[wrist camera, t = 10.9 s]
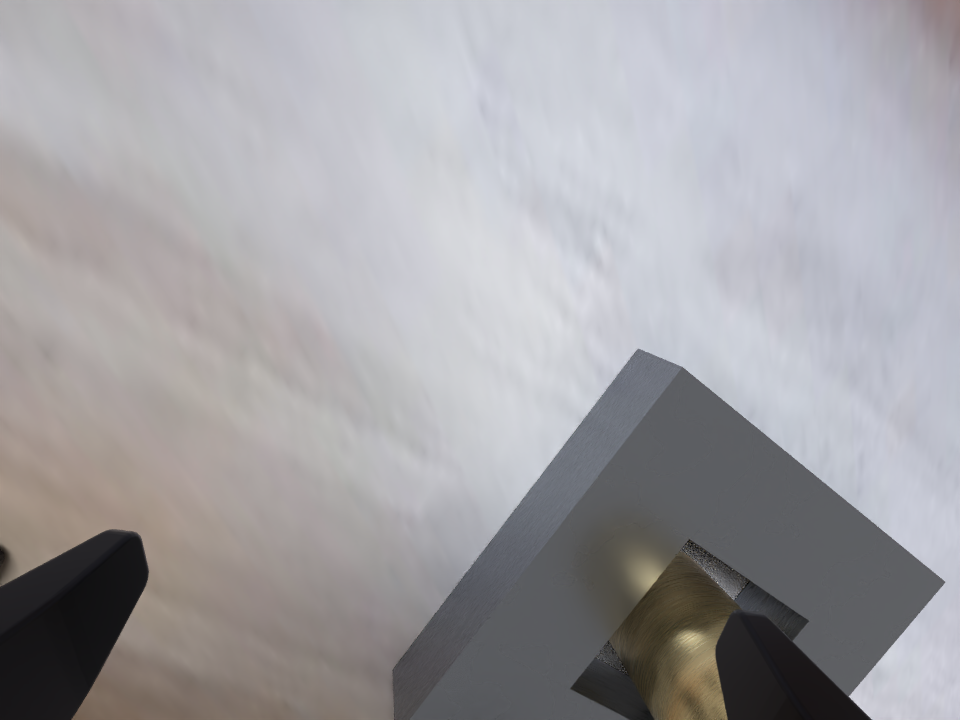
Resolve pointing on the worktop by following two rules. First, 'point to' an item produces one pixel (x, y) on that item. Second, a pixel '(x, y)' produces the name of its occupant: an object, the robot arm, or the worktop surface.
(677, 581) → the brass bushing
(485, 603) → the plate
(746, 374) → the worktop surface
